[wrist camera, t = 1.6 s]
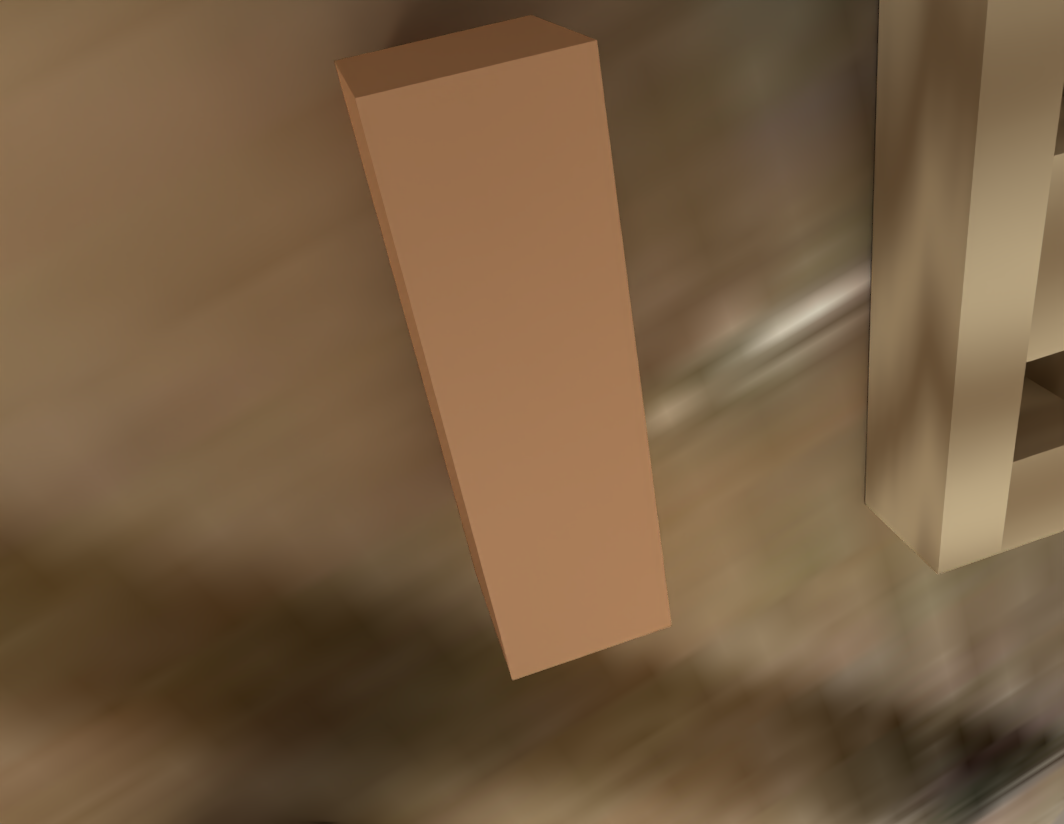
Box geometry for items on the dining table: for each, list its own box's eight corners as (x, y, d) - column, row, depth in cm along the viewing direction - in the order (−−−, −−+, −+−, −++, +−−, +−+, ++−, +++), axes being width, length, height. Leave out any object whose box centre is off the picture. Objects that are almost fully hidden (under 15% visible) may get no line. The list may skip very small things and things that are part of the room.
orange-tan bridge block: (577, 465, 21) (671, 626, 16) (451, 504, 20) (512, 680, 16) (493, -1, 16) (596, 39, 11) (322, 39, 15) (354, 98, 10)
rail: (1060, 438, 25) (1152, 499, 22) (865, 504, 24) (938, 574, 21) (1264, -788, 13) (1504, -950, 11) (900, -746, 12) (1067, -913, 10)
